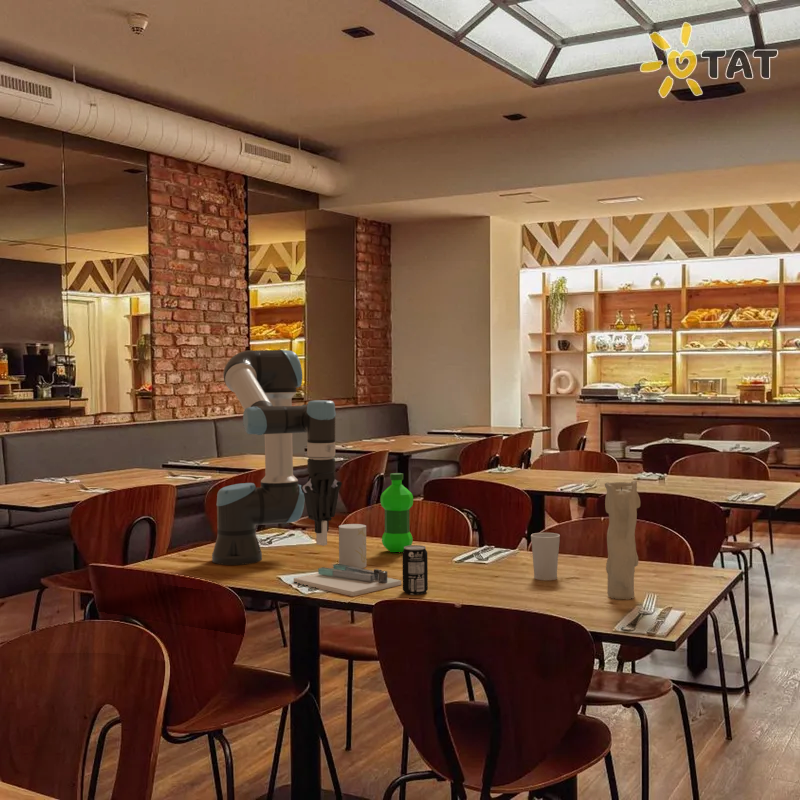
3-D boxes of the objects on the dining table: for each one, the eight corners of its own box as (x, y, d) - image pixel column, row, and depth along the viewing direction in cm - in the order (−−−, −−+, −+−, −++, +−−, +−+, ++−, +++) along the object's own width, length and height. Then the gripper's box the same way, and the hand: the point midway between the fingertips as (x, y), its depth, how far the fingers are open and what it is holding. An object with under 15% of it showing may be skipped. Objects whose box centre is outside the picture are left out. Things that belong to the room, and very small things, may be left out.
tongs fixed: (329, 576, 278) (329, 562, 278) (338, 574, 281) (338, 560, 281) (383, 588, 263) (382, 573, 263) (392, 585, 266) (392, 571, 266)
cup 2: (538, 581, 269) (537, 538, 268) (526, 575, 277) (526, 533, 276) (564, 579, 271) (564, 536, 271) (552, 574, 279) (552, 532, 278)
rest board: (293, 582, 271) (293, 578, 271) (342, 572, 284) (341, 568, 284) (352, 596, 254) (352, 591, 254) (401, 584, 267) (401, 580, 267)
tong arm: (318, 574, 274) (318, 568, 274) (323, 572, 276) (322, 567, 276) (370, 581, 264) (370, 575, 264) (374, 580, 266) (374, 574, 266)
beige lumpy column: (643, 596, 251) (643, 479, 250) (632, 603, 244) (631, 482, 243) (611, 592, 256) (611, 477, 255) (599, 598, 249) (599, 481, 248)
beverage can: (413, 588, 262) (412, 543, 262) (432, 591, 258) (432, 546, 258) (397, 593, 257) (397, 547, 257) (417, 596, 253) (416, 550, 253)
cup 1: (362, 569, 287) (362, 528, 287) (336, 568, 289) (335, 528, 289) (369, 563, 295) (368, 524, 295) (343, 563, 297) (342, 523, 297)
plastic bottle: (381, 548, 320) (381, 472, 319) (414, 548, 319) (413, 472, 318) (379, 554, 309) (379, 475, 309) (413, 554, 309) (412, 475, 308)
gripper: (312, 461, 257) (312, 550, 258) (348, 456, 266) (348, 542, 268) (293, 458, 262) (294, 546, 263) (330, 454, 271) (330, 538, 273)
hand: (321, 544), depth 266 cm, fingers closed
